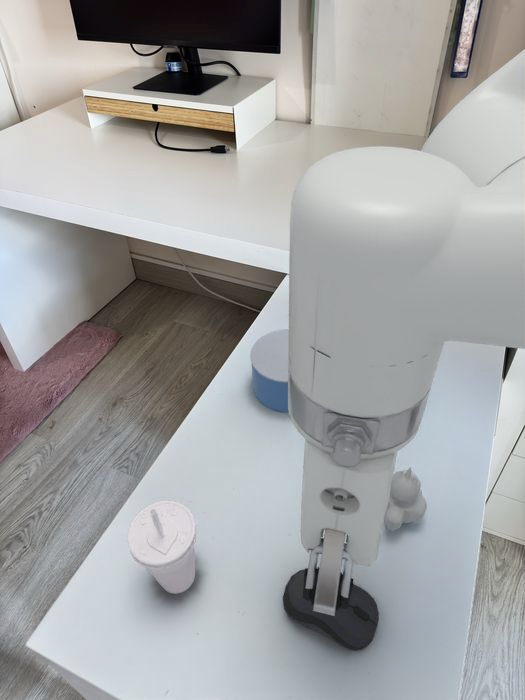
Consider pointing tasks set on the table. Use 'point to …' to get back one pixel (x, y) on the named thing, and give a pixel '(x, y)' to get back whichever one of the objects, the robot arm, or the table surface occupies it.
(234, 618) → the table surface
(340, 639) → the computer mouse
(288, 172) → the table surface
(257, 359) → the yogurt tub
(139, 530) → the smoothie
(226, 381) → the table surface
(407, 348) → the robot arm
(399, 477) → the grey toy figurine
